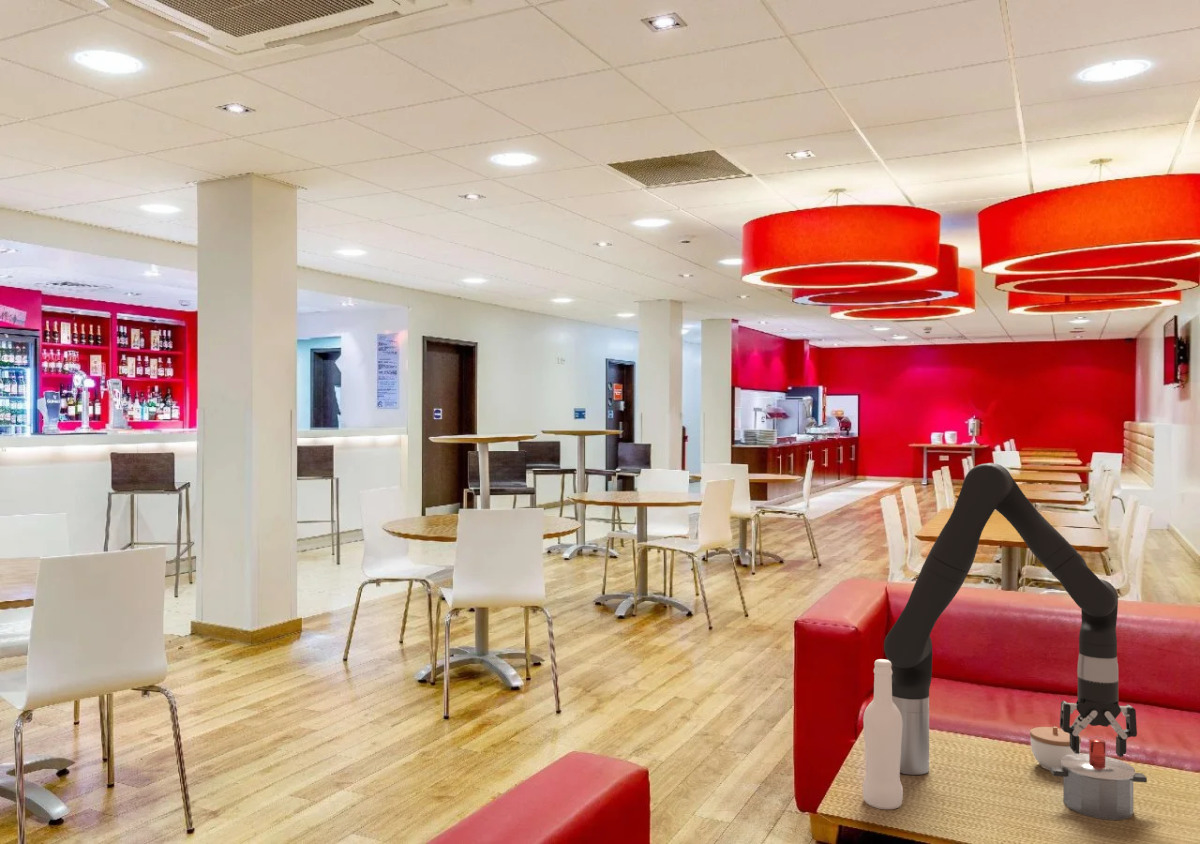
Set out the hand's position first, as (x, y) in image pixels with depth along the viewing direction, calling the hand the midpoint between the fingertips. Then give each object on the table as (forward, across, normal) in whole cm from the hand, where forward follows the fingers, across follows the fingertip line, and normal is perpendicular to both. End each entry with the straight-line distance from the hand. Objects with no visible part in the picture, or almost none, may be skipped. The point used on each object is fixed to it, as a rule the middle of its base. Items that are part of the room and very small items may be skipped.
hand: (1097, 754), depth 192 cm
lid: (+4, 0, 0) cm, 4 cm away
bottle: (+11, -44, -7) cm, 46 cm away
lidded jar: (+11, -2, +23) cm, 26 cm away
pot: (+11, 0, 0) cm, 11 cm away
